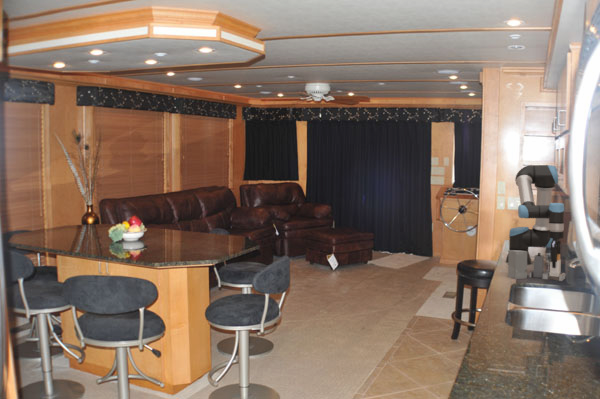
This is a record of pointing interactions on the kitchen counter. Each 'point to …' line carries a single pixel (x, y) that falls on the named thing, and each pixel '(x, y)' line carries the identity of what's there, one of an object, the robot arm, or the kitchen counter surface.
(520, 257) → the skincare box
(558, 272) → the plug
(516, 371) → the kitchen counter surface
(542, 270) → the twin plug
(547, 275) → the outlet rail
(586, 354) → the kitchen counter surface
